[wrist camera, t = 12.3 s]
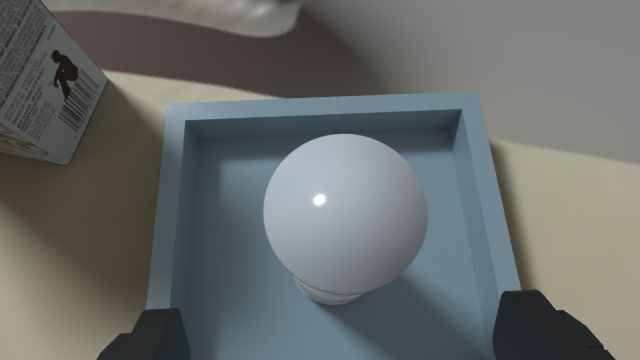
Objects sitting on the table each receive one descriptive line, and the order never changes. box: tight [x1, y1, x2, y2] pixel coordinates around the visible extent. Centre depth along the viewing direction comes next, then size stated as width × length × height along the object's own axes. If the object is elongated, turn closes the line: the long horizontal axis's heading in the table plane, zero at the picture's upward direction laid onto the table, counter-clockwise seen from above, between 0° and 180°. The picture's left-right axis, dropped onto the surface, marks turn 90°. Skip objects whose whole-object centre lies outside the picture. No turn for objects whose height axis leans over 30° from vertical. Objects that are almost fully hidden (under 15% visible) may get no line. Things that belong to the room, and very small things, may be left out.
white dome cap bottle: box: [263, 134, 428, 306], centre depth 14 cm, size 4×4×10 cm
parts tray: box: [146, 91, 521, 360], centre depth 18 cm, size 16×16×3 cm
